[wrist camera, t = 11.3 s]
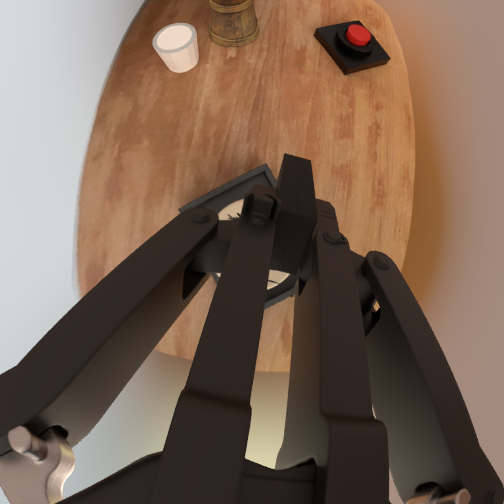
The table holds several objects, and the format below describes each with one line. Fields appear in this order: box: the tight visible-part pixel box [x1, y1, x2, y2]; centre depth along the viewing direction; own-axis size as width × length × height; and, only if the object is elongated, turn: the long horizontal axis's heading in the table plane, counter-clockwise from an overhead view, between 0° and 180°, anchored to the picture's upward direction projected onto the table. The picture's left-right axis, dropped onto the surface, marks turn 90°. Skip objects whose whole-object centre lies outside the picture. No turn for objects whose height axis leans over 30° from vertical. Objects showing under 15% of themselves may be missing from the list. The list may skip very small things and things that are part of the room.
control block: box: [314, 20, 390, 75], centre depth 38 cm, size 10×10×4 cm
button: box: [346, 25, 371, 46], centre depth 35 cm, size 4×4×2 cm
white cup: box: [153, 23, 199, 73], centre depth 36 cm, size 7×7×7 cm
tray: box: [178, 163, 300, 309], centre depth 40 cm, size 18×14×2 cm
